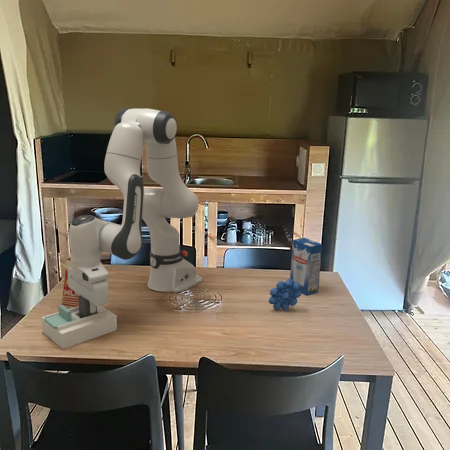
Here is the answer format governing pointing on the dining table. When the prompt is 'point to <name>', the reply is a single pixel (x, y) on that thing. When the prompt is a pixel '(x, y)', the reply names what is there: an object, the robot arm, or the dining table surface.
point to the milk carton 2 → (306, 265)
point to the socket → (81, 327)
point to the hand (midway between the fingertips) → (88, 309)
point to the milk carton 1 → (69, 291)
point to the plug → (84, 307)
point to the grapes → (285, 294)
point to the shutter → (60, 317)
